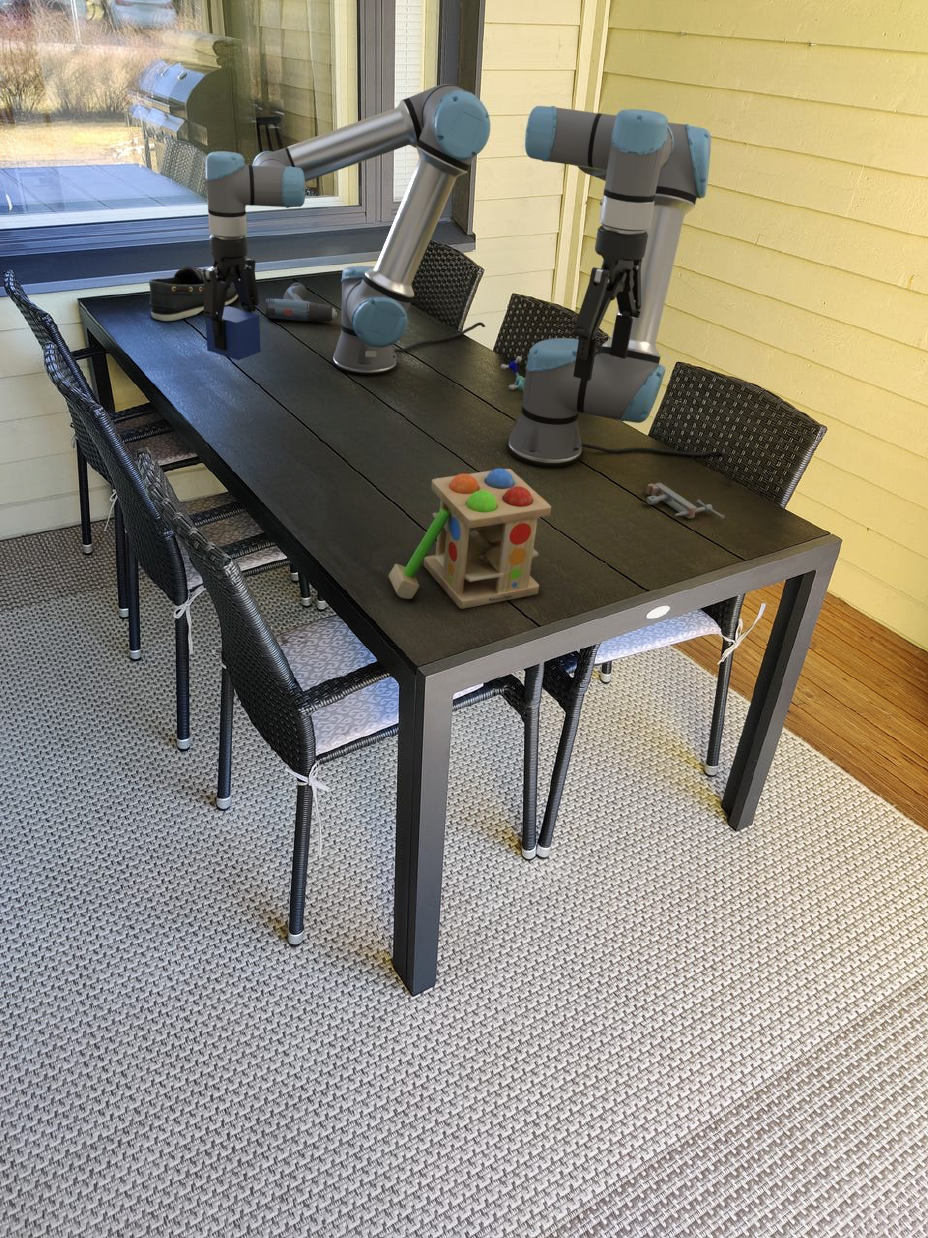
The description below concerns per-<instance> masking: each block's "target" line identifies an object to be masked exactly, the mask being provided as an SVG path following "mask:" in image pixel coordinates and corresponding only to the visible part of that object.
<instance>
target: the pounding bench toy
mask: <svg viewBox="0 0 928 1238" xmlns="http://www.w3.org/2000/svg"><path fill="white" fill-rule="evenodd" d="M431 491H432V492H433V493H434V494H435V495H436V496H437V498H439V499H440V501H439V502H440V503H439V511H438V512H433V513H432V517H433V521H432V522H431V524H430V526H429V527H428V529H427V530H426V532H425V534H424V536H423V538H422V539H421V541H420V543H419V544H418V546H417V547H416V549H415V551H414V553H413V554H412V556H411V558H410V559H409V560H408V563H407V565H406V566H404V565H402V564H398V563H394V566H393V567H392V568H391V570H390V571H389V574H388V579H389V581H390V583H391V585H392V587H393V589H394V592H395V594H396V595H397V597H399V598H402V599H406V600H410V599H413V597H414V596H415V595H416V593H417V591H418V589H419V588H420V584H419V581H418V580H417V578H416V573H417V572H418V570H419V568H420V566H421V565H422V563H423V567H424V568H425V569H426V570H427V572H428V573H429V575H430V576H432V578H433V579H434V580H435V581H436V583H437V584H438V585H439V586H440V587H441V588H442V589H443V591H444V592H445V593H446V595H448V597H449V598H450V599H451V600H452V601H453V603H454V604H456V606H457V607H458V608H459V609H461V610H462V609H469V608H474V607H479V606H485V605H490V604H494V603H500V602H503V601H510V600H515V599H520V598H525V597H530V596H535V595H537V594H539V589H540V584H539V583H538V582H537V581H536V580H535V579H534V578H533V577H532V576H531V569H532V564H533V563H532V562H533V559H534V558H538V557H539V552H538V551H537V550H536V549H535V548H534V547H535V541H536V533H537V526H538V519H539V518H544V517H549V516H550V515H551V511H552V506H551V505H550V504H549V502H548V501H546V500H545V499H544V498H543V497H542V496H541V495H539V493H537V492H536V491H535V490H534V489H532V487H531V486H529V485H528V483H526V482H525V481H524V480H523V479H522V478H521V477H520V476H519V475H517V474H516V472H514V471H513V469H511V468H494V469H492V470H488V471H487V470H486V471H479V472H473V473H458V474H457V475H452V476H444V477H436V478H433V479H431ZM476 531H477V532H476ZM471 532H476V533H475V534H473V535H471ZM435 542H436V546H435V554H434V555H428V554H429V551H430V550H431V548H432V547H433V546H434V543H435ZM427 555H428V556H427Z"/></svg>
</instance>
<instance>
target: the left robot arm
mask: <svg viewBox="0 0 928 1238" xmlns="http://www.w3.org/2000/svg"><path fill="white" fill-rule="evenodd" d="M490 135H491V118H490V115H489V112H488V110H487V107H486V106H485V104H484V103H483V102H482V100H481V99H480V98H479V97H478V96H476V95H475V94H473V92H471V91H468V90H465V89H464V88H463V87H460V86H458V85H456V84H452V83H443V84H439V85H436V86H433V87H430V88H428V89H426V90H424V91H421V92H418V93H416V94H414V95H412V96H409V97H406V98H404V99H401V100H400V101H399V103H398V105H397V106H396V107H395V108H391V109H389V110H386V111H383V112H381V113H378V114H375V115H372V116H369V117H367V118H364V119H361V120H358V121H355V122H353V123H350V124H348V125H345V126H342V127H339V128H336V129H334V130H331V131H328V132H325V133H322V134H320V135H317V136H314V137H311V138H309V139H306V140H303V141H299V142H298V143H297V142H296V143H295V144H292V145H289V146H287V147H285V148H281V149H280V148H279V149H278V150H275V151H272V150H264V151H261V152H260V153H259V154H258V155H256V156H255V158H254V160H253V163H252V164H251V165H250V164H246V162H245V159H244V156H243V155H242V154H241V153H238V152H235V151H234V152H233V151H223V150H222V151H220V150H219V151H212V152H210V153H208V154H207V155H206V157H205V188H206V199H207V200H206V201H207V214H208V229H209V233H210V234H211V235H210V236H209V248H210V249H209V250H210V251H209V252H210V255H212V257H213V262H212V266H211V267H210V268H203V269H202V270H203V276H204V280H205V282H204V310H203V317H204V318H205V317H207V318H210V319H211V320H212V332H213V334H214V341H215V348H218V349H221V350H224V351H225V350H227V344H226V326H225V320H224V319H222V317H223V312H224V307H226V305H225V302H226V297H227V292H228V289H229V288H230V286H231V283H232V282H233V283H234V286H235V289H236V292H237V295H238V297H237V299H238V301H239V303H240V306H241V308H239V309H240V310H243V311H246V312H250V313H253V312H255V311H256V310H257V307H258V306H259V304H260V301H259V294H258V293H259V292H258V287H257V286H258V285H257V279H256V278H257V277H256V260H255V259H252V258H248V257H246V256H247V255H248V238H247V237H246V235H247V234H248V229H247V227H248V226H247V209H246V207H247V206H252V207H253V206H255V207H273V208H274V207H275V208H286V209H290V208H301V207H303V206H304V204H305V203H306V202H305V201H306V182H309V181H312V180H314V179H317V178H321V177H323V176H327V175H329V174H331V173H335V172H338V171H340V170H342V169H346V168H348V167H351V166H354V165H356V164H361V163H362V162H365V161H368V160H370V159H371V160H372V159H374V158H376V157H379V156H382V155H385V154H388V153H390V152H393V151H396V150H399V149H402V148H404V147H407V146H410V147H413V148H415V149H416V151H417V154H418V160H417V163H416V166H415V168H414V170H413V173H412V175H411V177H410V180H409V183H408V185H407V188H406V190H405V192H404V195H403V197H402V200H401V202H400V205H399V207H398V209H397V212H396V215H395V216H394V220H393V222H392V225H391V227H390V230H389V232H388V234H387V237H386V239H385V242H384V245H383V247H382V249H381V252H380V254H379V256H378V259H377V262H376V264H375V266H373V265H351V266H347V267H345V268H344V269H343V270H342V273H341V279H340V283H341V319H340V321H341V324H340V325H341V326H340V329H341V330H340V336H339V338H338V341H337V344H336V348H335V350H334V352H333V361H332V362H333V363H332V364H333V366H334V367H335V368H337V369H338V370H339V371H342V372H344V373H347V374H352V375H356V376H380V375H381V376H382V375H386V374H389V373H391V372H393V371H395V369H396V368H397V354H396V353H405V352H408V351H410V350H412V349H414V348H417V347H419V346H423V345H428V344H434V343H439V342H443V341H448V340H452V339H454V338H458V337H461V336H463V335H465V334H466V333H468V332H470V331H472V330H474V329H476V328H477V327H479V326H481V327H482V328H486V325H485V323H483V322H476V323H474V324H472V325H471V326H469V327H467V328H465V329H463V330H462V331H459V332H458V333H455V334H452V335H449V336H444V337H439V338H435V339H429V340H422V341H418V342H415V343H413V344H411V345H409V346H407V347H404V348H395V347H394V344H396V343H397V342H399V341H400V340H401V339H402V338H403V336H404V334H405V333H406V330H407V327H408V315H407V313H408V311H409V308H410V306H411V303H412V301H413V299H414V296H415V293H414V289H413V286H412V283H413V281H414V279H415V276H416V275H417V273H418V270H419V267H420V265H421V262H422V260H423V257H424V255H425V253H426V250H427V249H428V246H429V244H430V242H431V239H432V237H433V234H434V232H435V229H436V227H437V225H438V222H439V220H440V217H441V216H442V213H443V211H444V208H445V206H446V204H447V201H448V199H449V197H450V194H451V192H452V190H453V188H454V185H455V182H456V180H457V178H459V177H460V176H463V175H466V174H467V173H468V171H469V168H470V167H471V164H472V162H473V159H474V157H476V156H477V155H479V154H480V153H481V152H482V151H483V150H484V148H485V147H486V145H487V143H488V141H489V138H490ZM221 281H222V282H225V283H221ZM216 312H217V314H216Z"/></svg>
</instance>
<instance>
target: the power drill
mask: <svg viewBox="0 0 928 1238" xmlns="http://www.w3.org/2000/svg"><path fill="white" fill-rule="evenodd" d="M307 295H308V290H307V287H306V285H304V284H303V283H301V282H293V283H292V284H291V285H290V286H289V287H288V288H287V289H286V291H285V292H284V294H283V297H282V298H266V299H265V302H264V313H265V314H264V316H265V318H267V319H274V320H275V319H276V320H283V321H294V322H295V321H297V322H332V321H333V320H334V319H336V318H337V317H338V312H337V311H336V308H334V307H333V306H332V305H331V304H324V303H317V302H313V301H307V300H305V299H306V297H307Z"/></svg>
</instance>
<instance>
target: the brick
mask: <svg viewBox="0 0 928 1238" xmlns="http://www.w3.org/2000/svg"><path fill="white" fill-rule="evenodd" d="M240 309H241V308H236V307H232V306H229V305H226V306H225V307H224V312H223V317H222V319H224V320H225V326H226V344H227V350H225V351H224V350H221V349H218V348H215V341H214V334H213V332H212V320H211V319H210V318H207V317H204V321H205V322H204V323H205V336H206V350H207V351H208V352H211V353H214V354H217V355H220V356H223V357H227V358H230V359H233V360H236V361H240V360H243V359H245V358H248V357H251V356H254V355H256V354H259V353H261V324H260V323H261V322H260V315H259V314H256V313H253V312H252V313H250V312H246V311H243V310H240ZM216 314H217V312H216Z"/></svg>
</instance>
